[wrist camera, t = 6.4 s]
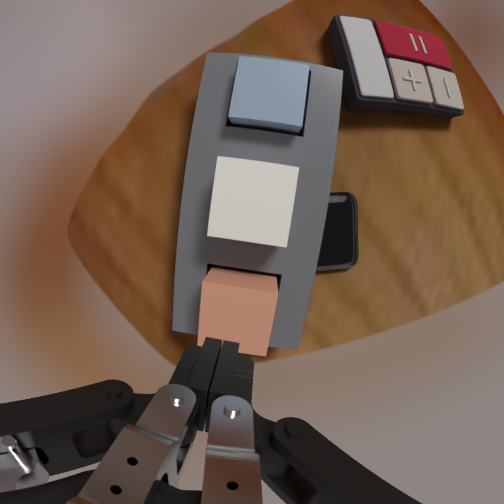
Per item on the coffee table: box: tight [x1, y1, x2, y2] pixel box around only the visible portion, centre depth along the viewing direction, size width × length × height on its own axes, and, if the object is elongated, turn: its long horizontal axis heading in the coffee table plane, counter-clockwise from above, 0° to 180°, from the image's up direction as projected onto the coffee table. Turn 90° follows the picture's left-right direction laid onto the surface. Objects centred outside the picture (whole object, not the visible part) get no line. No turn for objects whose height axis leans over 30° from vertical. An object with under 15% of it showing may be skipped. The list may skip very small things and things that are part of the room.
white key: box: [207, 156, 299, 248], centre depth 20 cm, size 6×6×4 cm
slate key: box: [228, 56, 309, 136], centre depth 20 cm, size 6×6×4 cm
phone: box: [316, 192, 358, 271], centre depth 27 cm, size 8×1×15 cm
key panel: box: [173, 53, 343, 350], centre depth 24 cm, size 12×26×5 cm, turn 172°
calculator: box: [327, 14, 464, 118], centre depth 21 cm, size 11×4×15 cm
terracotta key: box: [197, 267, 278, 356], centre depth 22 cm, size 6×6×4 cm
